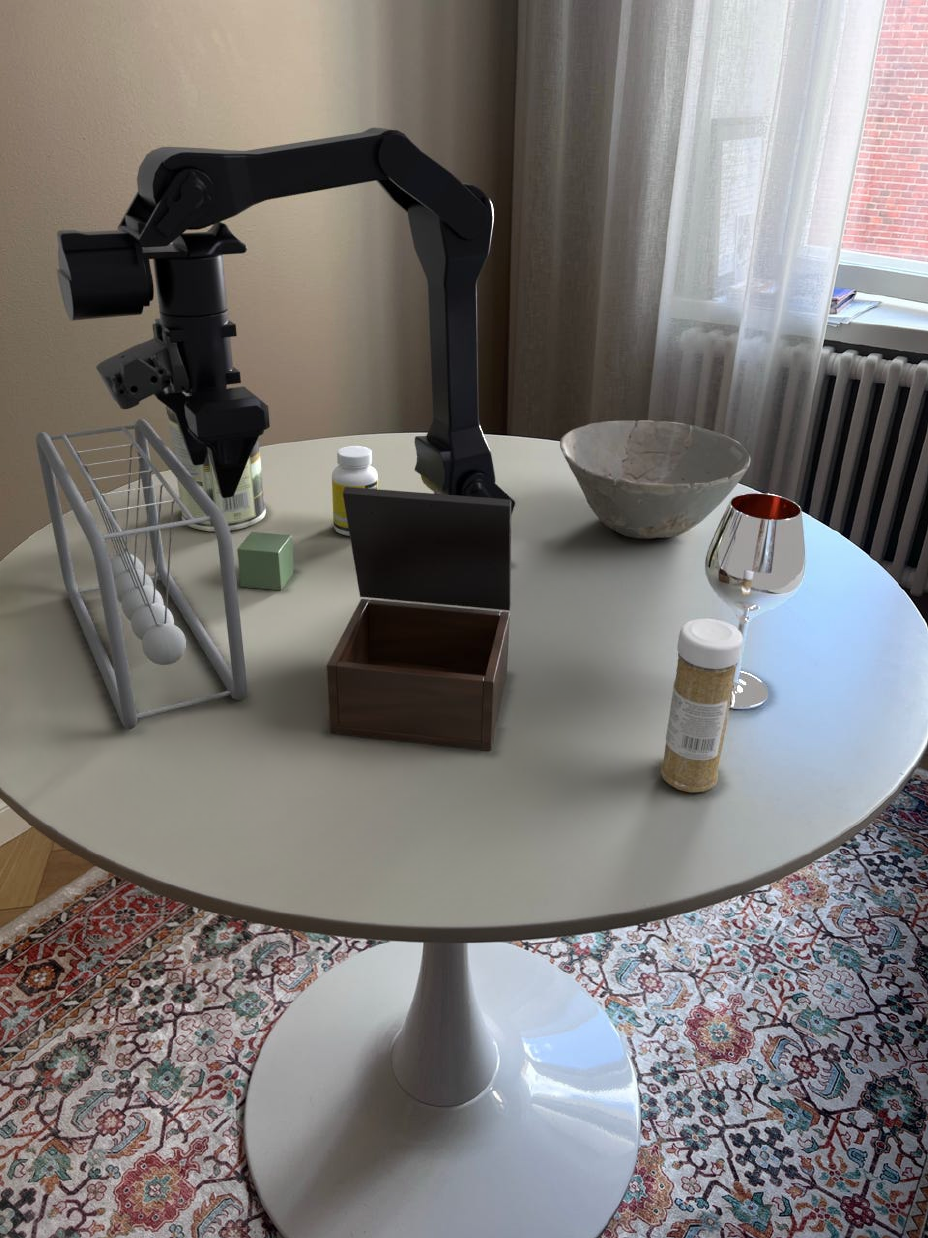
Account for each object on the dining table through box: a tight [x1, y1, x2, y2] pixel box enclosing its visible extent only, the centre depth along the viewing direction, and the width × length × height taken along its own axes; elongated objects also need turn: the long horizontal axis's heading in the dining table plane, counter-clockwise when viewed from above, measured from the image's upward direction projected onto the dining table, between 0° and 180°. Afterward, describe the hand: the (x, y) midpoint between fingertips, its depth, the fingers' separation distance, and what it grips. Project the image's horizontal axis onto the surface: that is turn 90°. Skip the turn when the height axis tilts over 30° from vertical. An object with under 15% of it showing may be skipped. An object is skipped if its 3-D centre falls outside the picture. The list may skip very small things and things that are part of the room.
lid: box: [343, 487, 512, 611], centre depth 84 cm, size 12×14×1 cm
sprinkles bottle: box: [660, 618, 743, 793], centre depth 75 cm, size 5×5×13 cm
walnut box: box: [326, 598, 511, 752], centre depth 85 cm, size 12×14×7 cm
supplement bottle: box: [331, 445, 379, 537], centre depth 117 cm, size 5×5×10 cm
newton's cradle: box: [35, 418, 248, 730], centre depth 91 cm, size 30×10×18 cm, turn 29°
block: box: [236, 531, 295, 591], centre depth 106 cm, size 4×4×4 cm
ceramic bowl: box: [559, 419, 751, 539], centre depth 119 cm, size 22×23×10 cm
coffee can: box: [165, 405, 267, 532], centre depth 118 cm, size 10×10×14 cm
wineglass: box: [704, 492, 806, 710], centre depth 86 cm, size 8×8×18 cm
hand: (212, 480), depth 93 cm, fingers open, 9 cm apart
